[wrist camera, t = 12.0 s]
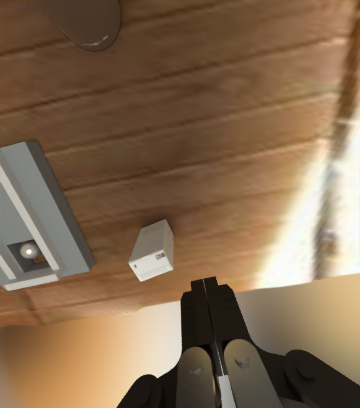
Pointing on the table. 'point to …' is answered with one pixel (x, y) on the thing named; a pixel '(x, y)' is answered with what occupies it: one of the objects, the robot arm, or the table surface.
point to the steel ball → (30, 249)
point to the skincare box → (153, 251)
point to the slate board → (36, 221)
